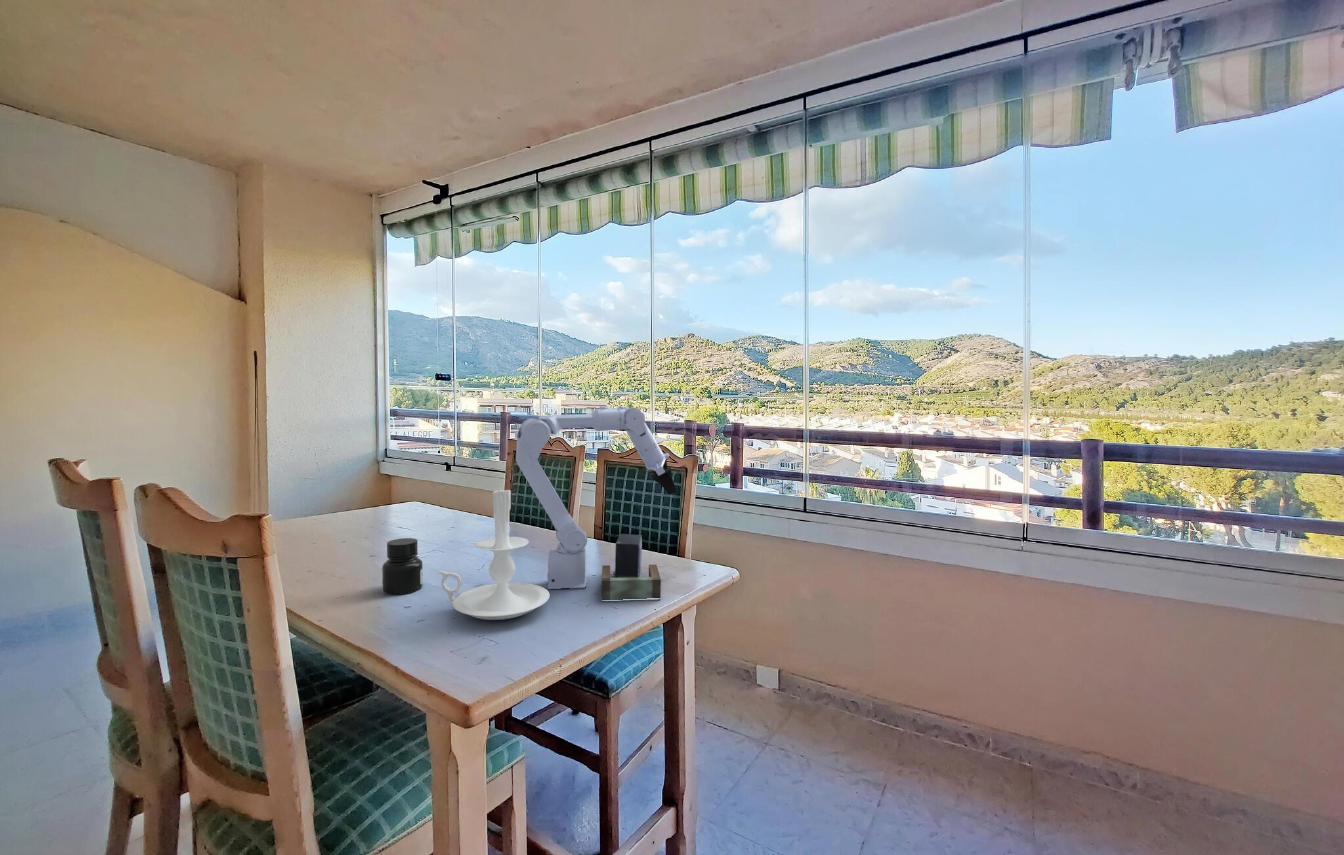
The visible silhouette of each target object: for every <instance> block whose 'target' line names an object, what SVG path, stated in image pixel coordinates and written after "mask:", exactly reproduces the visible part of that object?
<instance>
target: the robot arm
mask: <svg viewBox="0 0 1344 855" xmlns="http://www.w3.org/2000/svg"><path fill="white" fill-rule="evenodd" d="M586 427H592V428H593V429H594V430H595V432H596V431H597V432H600V431H601V432H602V431H620V430H622V429H623V430H625V431H626V434H627V435H628V437H629V440H630V441H631V443H632V445H633V446H634V447H635V450H636V451H637V453H638V455H639V457H640V459H641V460H642V462H643V463H644V464H645V468H646V470H649V471H651V472H652V473H654V474H652V475H651V479H652V480H653V481H655V482H656V483H658V484H659V485H660V486H661V487H662V488H663V489H664V491H666V493H667V494H668V495H669V496H671V495H673V494H675V493H676V492H677V488H676V485H675V482H674V480H673V474H672V467H671V466H669V467H668V463H667V462H668V459H667V458H669V457H670V455H669V453H668V452H666V453H663V451H662V449H661V447H660V445H659V444H658V442H657V440H656V439H655V437H654V434H652V433H653V432H652V431H651V429H650V428H649V426H648V425H647V423H646V415H645V413H644V412H642V410H640V409H639V408H636V407H626V406H617V407H613V408H611V407H610V408H606V406H605V405H604V406H599V408H596V409H594V410H593V411H592V412H591V413H590V414H551V415H544V416H539V417H538V419H537V418H534V417H533V418H532V417H531V418H528V419H525V420H524V421H523V422H522V423H521V424H520V426H519V429H518V431H517V433H516V449H515V450H516V452H515V461H516V462H515V463H516V464H517V466H518V468H519V469H520V471H521V473H522V474H523V476H524V477H525V479H526V481H527V483H528V484H529V485H530V487H531V490H532V491H533V493H534V495H535V496H536V498H537V500H538V501H539V502H540V504H541V506H542V507H543V509H544V510H545V512H546V514H547V516H548V517H549V519H550V521H551V523H552V525H553V527H554V529H555V537H556V539H557V540H558V542H559V543H558V545H557V546H556V549H552V550H551V549H550V550H549V551H548V558H547V560H548V561H547V589H548V590H552V589H553V590H558V589H561V588H570V589H586V588H587V584H588V577H587V575H586V545H587V544H588V535H587V533H586V531H585V530H584V529H582V528H581V527H580V526H579V525H578V523H577V522H575V520H574V519H573V517H572V516H571V515H570V513H569V512H568V509H567V508H566V506H565V504H564V503H563V501H562V500H561V498H560V496H559V495H558V493H557V491H556V490H555V488H554V486H553V484H552V482H551V481H550V479H549V477H548V475H547V474H546V473H545V471H544V469H543V468H542V465H541V464H540V463H539V457H540V455H541V452H542V450H543V448H544V446H545V445H546V444H547V443H548V442H549V440H550V438H551V435H554V436H555V435H556V434H558V433H559V432H560V431H561V430H563V429H573V428H576V429H577V428H586ZM586 583H587V584H586ZM585 587H586V588H585ZM561 590H562V589H561Z"/></svg>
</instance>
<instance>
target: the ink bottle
mask: <svg viewBox="0 0 1344 855" xmlns="http://www.w3.org/2000/svg"><path fill="white" fill-rule="evenodd" d="M418 552H419V551H418V539H417V538H412V537H407V538H406V537H404V538H396V539H392V540H389V541H387V542H386V558H387V560H386V561H384V563H383V564H382V570H381V571H382V573H381V574H382V576H381V578H382V591H383V593H385V594H387V595H405V594H406V595H407V594H410V593H414V592H416V591H418V590H420V589H421V588H422V587H423V584H424V583H423V582H424V580H423V578H424V574H423V573H424V570H423V561H422V559H421V558H419V557H418V554H419V553H418Z"/></svg>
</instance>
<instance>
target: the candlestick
mask: <svg viewBox="0 0 1344 855" xmlns="http://www.w3.org/2000/svg"><path fill="white" fill-rule="evenodd" d="M511 496H512V493H511V490H510V489H505V490H502V489H501V487H499V490H495V491H492V500H493V501H492V502H493V503H492V508H493V518H492V519H493V520H494V537H490V538H489V537H488V538H485V539H481V540H479V541H477V542H475V544H474V546H475V547H476V548H478V549H480V550H485V551H491V552H493V554H494V556H493V559H492V560H491V562H490V564H489V567H488V573H489V575H490V578H491V579H492V581H494V583H490V584H485V585H481V586H478V587H475V588H470V589H468V590H467V591H466V590H465V591H464V592H462V593H460V594H459V595H457V596H456V597H454V594H455V593H457V592H459V591H460V589H461V588H462V586H463V580H462V578H461V576H460V575H459V573H457V572H447V571H444V570H443V571H442V570H440V571H439V572H438V574H440V575H441V576H442V578H441V582H440V584H441V587H442V589H443V591H445V593H446V594H447V596H448V600H449V601H451V602H452V606H453V608H454V609H455V610H456V611H457V612H459V613H462V614H464V615H468V616H470V617H473V618H474V619H475V618H476V619H480V620H488V621H498V620H499V621H500V620H507V619H508V620H509V619H514V618H517V617H521V616H523V615H526V614H528V613H530V612H532V611H534V610H536V609H537V608H539V607H541V606H543V605H544V604H546V603H547V601H549V599H550V592H549V591H548V590H547V589H546V588H544V587H543V586H540V585H538V584H534V583H527V582H510V581H511V580H512V578H513V577H514V575H515V572H516V570H517V569H516V568H517V567H516V562H515V561H514V560H513V557H512V556H511V553H512V551H513V550H515V549H520V548H522V547H525V546H527V545H528V544H529V542H530V541H529V540H528V539H527V538H525V537H520V536H510V532H511V530H510V510H511V509H512V508H511V507H512V506H511V505H512V500H511ZM449 577H453V578H455V579H456V581H457V587H455V589H452V588H449V587H448V586H447V585H446V580H447V578H449Z"/></svg>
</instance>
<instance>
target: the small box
mask: <svg viewBox="0 0 1344 855" xmlns="http://www.w3.org/2000/svg"><path fill="white" fill-rule="evenodd" d="M642 541H643V538H642V534H628V533H627V534H626V533H620V534H619V536H618V538H617V540H616V542H615V551H614V552H615V555H614V556H615V558H614V559H615V560H614V562H615V565H614V578H630V577H640V575H641V572H642V548H643V547H642V546H643V544H642V543H643V542H642ZM640 571H641V572H640Z"/></svg>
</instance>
